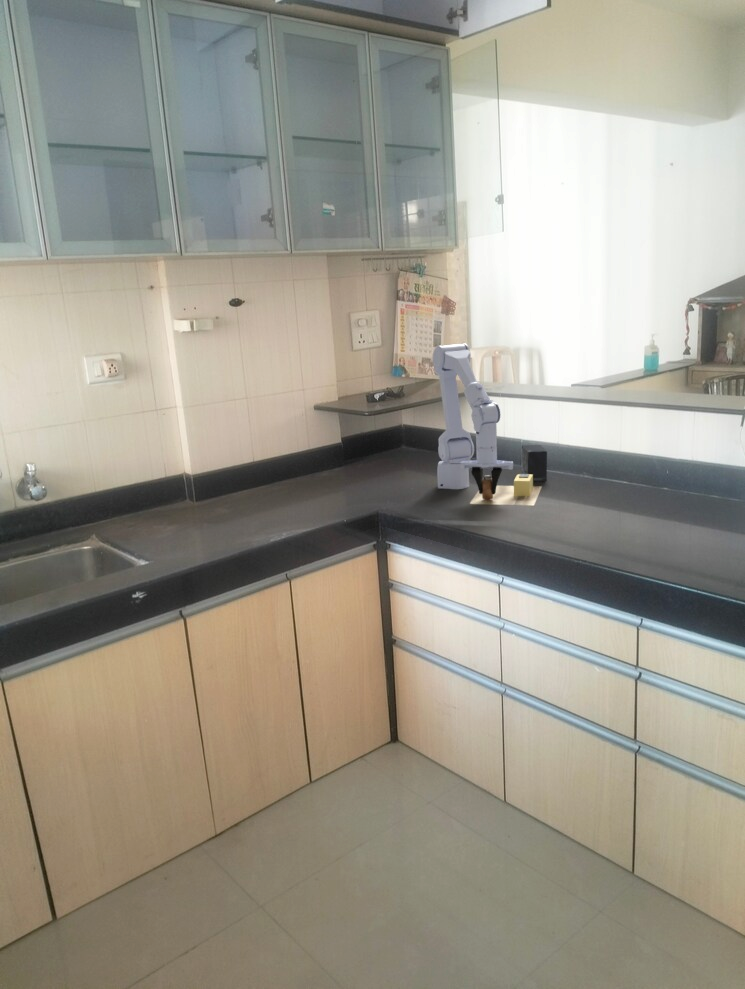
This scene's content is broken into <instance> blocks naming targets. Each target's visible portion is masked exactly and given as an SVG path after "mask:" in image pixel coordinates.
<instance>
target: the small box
mask: <svg viewBox="0 0 745 989" xmlns="http://www.w3.org/2000/svg"><path fill="white" fill-rule="evenodd" d="M521 455H522V456H521V474H533V482H543V481H547V480H548V479H547V478H548V476H547V475H548V474H547V473H548V471H547V470H548V451H547V450H546V448H544V447H543V445H542V444H534V445H533V444H529V445H526V444H524V445H521Z"/></svg>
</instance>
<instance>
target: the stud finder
mask: <svg viewBox="0 0 745 989" xmlns="http://www.w3.org/2000/svg"><path fill="white" fill-rule="evenodd" d="M513 486H514V496H530V495H531V492H532V490H533V486H534V481H533V474H522V473H519V474H516V476H515V478H514V480H513Z"/></svg>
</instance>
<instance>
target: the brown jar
mask: <svg viewBox="0 0 745 989" xmlns="http://www.w3.org/2000/svg"><path fill="white" fill-rule="evenodd" d="M482 498H483V499H493V494H492V475H490V474H487V475H486V474H485V475H483V479H482Z"/></svg>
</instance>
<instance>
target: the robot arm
mask: <svg viewBox="0 0 745 989" xmlns="http://www.w3.org/2000/svg"><path fill="white" fill-rule="evenodd" d="M471 355H472V354H471V350H470V347H469V345H468V344H467V343H465V342H463V343H457V344H446V345H436V346H435V347H434V349H433V353H432V361H433V362H432V363H433V370H434V373H435V375H437V376H438V378H439V386H440V393H441V394H440V395H441V402H442V409H443V418H444V423H445V424H444V425H445V431H443V433H442V434H440V436H439V437H438V448H437V450H438V456H439V459H441V460H440V461H438V463H437V470H436V472H437V489H445V490H447V489H448V490H462V489H467V488H469V487H470V479H469V478H470V476H469V475H470V474H469V472H470V469H471V475H472V476H473V478H474V481H475V483H476V486H477V489H478V491H479V494H482V479H484V475H483V474H484V473H483V472H484V470H485V469H488V470H490V469H491V471H490V472H491V479H492V494H495V493H496V486H498V483H499V482H498V481H499V479H500V476H501V474H502V471H503V470H511V471H512V470H513V468H514V461H512V460H511V461H510V460H499V459H498V452H497V451H498V446H497V443H498V442H497V441H498V440H497V439H498V438H497V434H498V433H497V430H498V429H497V424H498V423H499V422H500V420H501V409H500V407H499V404H498V403H497V402H494V400H492V399H490V397H489V395H488V393H487V390H486V389H485V387H484V385H483V384H482V383H480V382H477V379H476V377H475V374H474V373H475V372H474V371H473V368H472V366H471V364H470V363H471V359H472V358H471V357H472V356H471ZM457 376H458V377H459V379H460V380H461V382H462V384H463V386H464V387H465V389H464V392H463V394H464V396H465V398H466V401H467V402H468V404H469V407H470V409H471V410H472V411H471V415H470V416H471V421H472V422H473V423H472V424H473V430H474V432H475V443H476V446H475V445H474V442H473V440H472V437H471V436H472V435H471V433H470V432H469V431H467V430H465V428H463V422H462V413H461V406H460V405H461V404H460V399H459V392H458V391H459V390H458V383H457ZM451 439H452V440H451ZM475 448H476V459H475V460H471V458H472V457H473V456H474V454H475Z"/></svg>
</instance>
